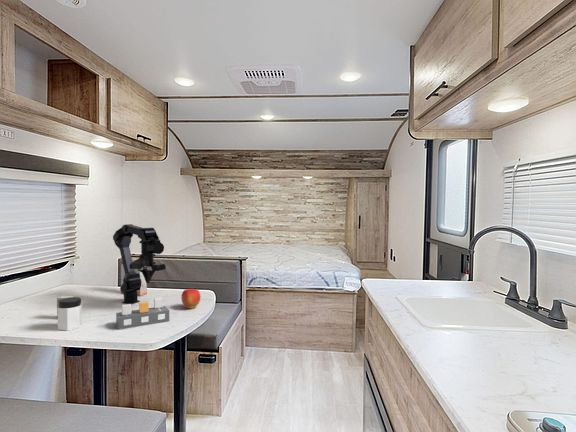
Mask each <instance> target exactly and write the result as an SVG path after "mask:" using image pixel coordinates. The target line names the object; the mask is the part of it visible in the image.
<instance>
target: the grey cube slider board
mask: <svg viewBox="0 0 576 432" xmlns="http://www.w3.org/2000/svg"><path fill="white" fill-rule="evenodd" d="M115 319H116V320H115V324H116V327H117V330H124V329H131V328H136V327H143V326H149V325H154V324H159V323H160V324H161V323H167V322H170V309H169V308H168V307H167V306H166V305H163V307H160V308H154V306H153V307H149V312H143V313H140V312H139V309H131V314H128V315H122V311H119V312H116V313H115Z"/></svg>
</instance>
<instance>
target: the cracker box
mask: <svg viewBox="0 0 576 432" xmlns="http://www.w3.org/2000/svg"><path fill="white" fill-rule="evenodd" d="M137 259H139V257H137V258H136V257H132V261H133V262H134V261H135V260H137ZM120 262H121V263H120V265H121V267H120V268H121V269H120V270H121V271H120V281H121V282H120V287H121V286H122V284H123V279H124V276H125V271H124V267H123V262H122V258H121V261H120ZM134 270H135V272H136V273H139V274H140V278H141V282H142V283H141V288H140V290H138V291H137V294H138V297H141V296H144V295H147V294H148V291H147V290H148V289H147V288H148V285H147V284H148V283H146V281H145V278H144V276H143V274H142V272H140V271H138V269H134ZM120 294H121V295H124V293H123V292H121V291H120Z"/></svg>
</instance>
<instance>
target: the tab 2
mask: <svg viewBox="0 0 576 432" xmlns="http://www.w3.org/2000/svg"><path fill="white" fill-rule="evenodd" d="M138 306H139V308H138V310H139V312H140V313H143V312H149V308H150V306H149V301H143V302H138Z"/></svg>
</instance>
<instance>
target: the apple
mask: <svg viewBox="0 0 576 432" xmlns="http://www.w3.org/2000/svg"><path fill="white" fill-rule="evenodd" d="M180 298H181V302H182V304H183V306H184V307H186V308H187V309H189V310H190V309H191V310H192V309H194V308H196V307H197V306H199V304H200V302H201V292H200V291H199V289H196V288H188V289H187V288H186V289H184V290H183V291H182V293H181V297H180Z"/></svg>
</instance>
